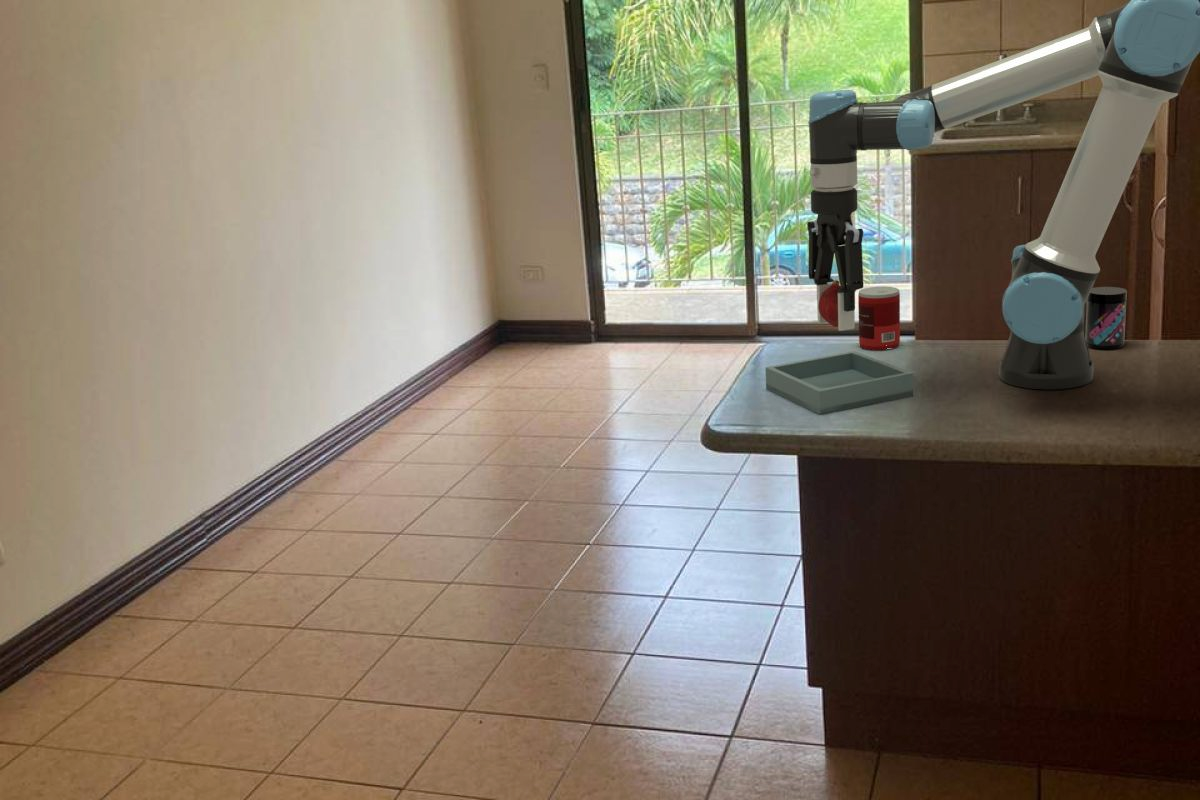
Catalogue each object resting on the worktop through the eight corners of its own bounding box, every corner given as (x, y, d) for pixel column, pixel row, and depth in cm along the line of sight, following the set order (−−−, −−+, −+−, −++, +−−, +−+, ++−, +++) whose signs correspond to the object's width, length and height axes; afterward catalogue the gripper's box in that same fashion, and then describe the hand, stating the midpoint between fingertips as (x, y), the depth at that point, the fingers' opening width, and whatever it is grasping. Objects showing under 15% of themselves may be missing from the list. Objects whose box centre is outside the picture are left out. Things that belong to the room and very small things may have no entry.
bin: (913, 396, 203) (913, 373, 202) (819, 414, 197) (819, 391, 196) (854, 372, 219) (853, 351, 218) (766, 389, 213) (765, 367, 212)
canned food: (905, 342, 237) (905, 287, 234) (891, 352, 230) (891, 295, 227) (867, 339, 241) (867, 285, 238) (853, 349, 234) (852, 293, 231)
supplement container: (1079, 348, 223) (1081, 293, 220) (1092, 339, 228) (1094, 285, 225) (1117, 352, 219) (1119, 295, 216) (1129, 343, 224) (1132, 288, 221)
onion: (853, 330, 202) (853, 283, 199) (818, 331, 203) (817, 284, 201) (853, 322, 207) (852, 276, 205) (819, 323, 208) (818, 277, 206)
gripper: (784, 185, 206) (788, 318, 212) (845, 196, 189) (847, 340, 195) (823, 180, 208) (825, 312, 215) (886, 190, 191) (886, 333, 198)
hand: (835, 325), depth 205 cm, fingers closed on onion, 6 cm apart
